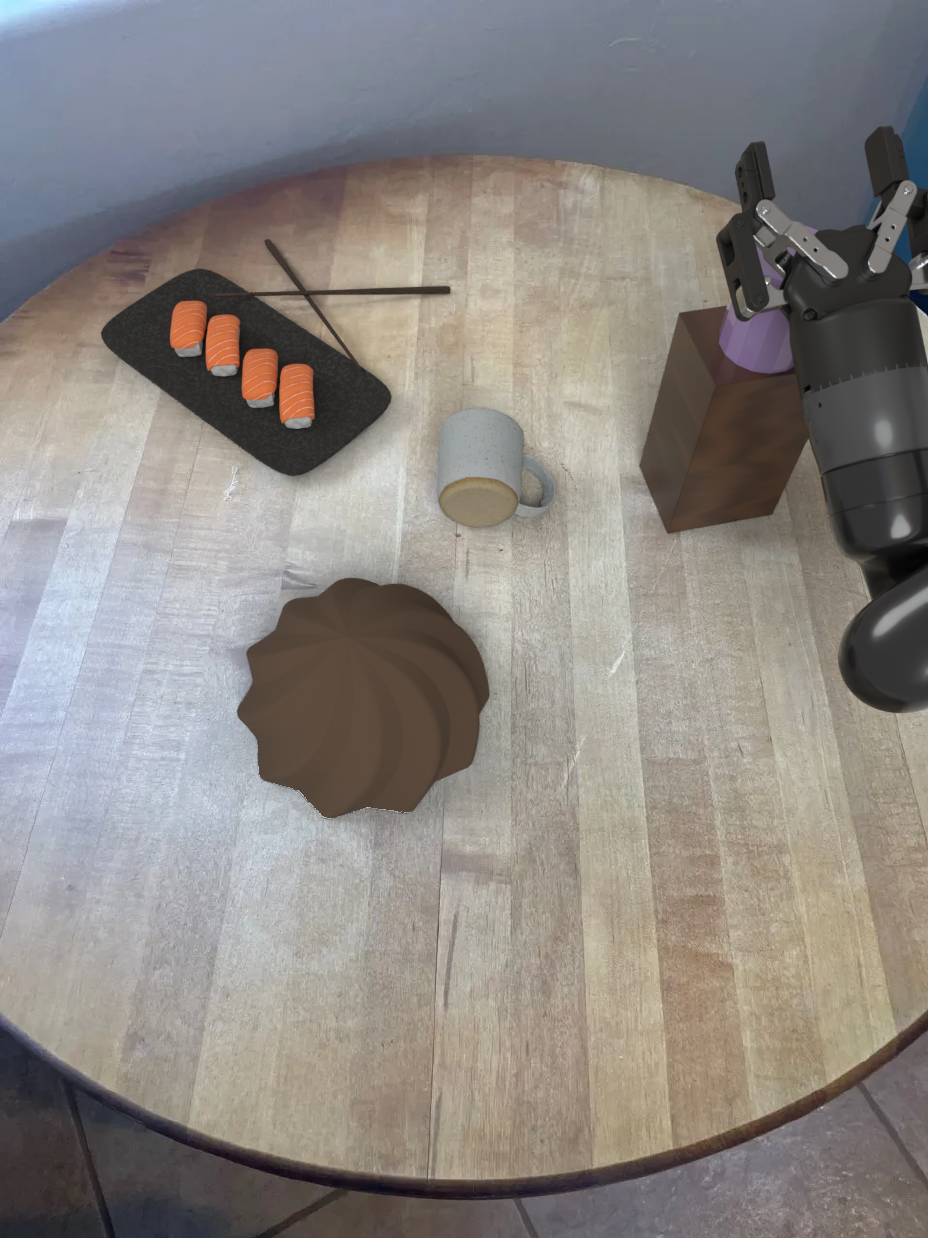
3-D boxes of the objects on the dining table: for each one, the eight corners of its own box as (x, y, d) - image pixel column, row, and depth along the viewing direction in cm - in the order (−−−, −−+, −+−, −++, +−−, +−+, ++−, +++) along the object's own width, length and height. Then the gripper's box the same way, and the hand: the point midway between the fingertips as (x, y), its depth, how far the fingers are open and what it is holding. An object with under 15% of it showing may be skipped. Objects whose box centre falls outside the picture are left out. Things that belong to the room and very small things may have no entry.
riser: (740, 448, 90) (799, 293, 75) (772, 515, 86) (843, 365, 71) (638, 465, 89) (678, 311, 74) (667, 534, 85) (715, 386, 70)
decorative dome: (200, 784, 72) (166, 727, 64) (293, 573, 82) (275, 500, 74) (447, 852, 70) (447, 803, 61) (512, 627, 80) (520, 557, 71)
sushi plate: (93, 347, 96) (80, 316, 93) (308, 205, 108) (303, 174, 105) (296, 498, 87) (290, 470, 83) (507, 324, 99) (509, 294, 95)
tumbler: (858, 276, 64) (818, 366, 71) (818, 217, 67) (784, 308, 74) (768, 290, 63) (737, 379, 70) (733, 229, 66) (706, 320, 73)
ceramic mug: (435, 532, 85) (436, 476, 78) (438, 461, 89) (439, 402, 82) (555, 536, 85) (566, 480, 78) (552, 465, 89) (562, 406, 83)
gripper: (1008, 355, 57) (954, 91, 58) (785, 392, 56) (731, 119, 56) (932, 390, 65) (885, 156, 65) (733, 423, 63) (686, 182, 63)
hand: (814, 139), depth 61 cm, fingers open, 8 cm apart
